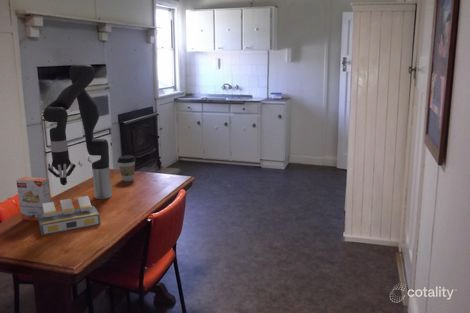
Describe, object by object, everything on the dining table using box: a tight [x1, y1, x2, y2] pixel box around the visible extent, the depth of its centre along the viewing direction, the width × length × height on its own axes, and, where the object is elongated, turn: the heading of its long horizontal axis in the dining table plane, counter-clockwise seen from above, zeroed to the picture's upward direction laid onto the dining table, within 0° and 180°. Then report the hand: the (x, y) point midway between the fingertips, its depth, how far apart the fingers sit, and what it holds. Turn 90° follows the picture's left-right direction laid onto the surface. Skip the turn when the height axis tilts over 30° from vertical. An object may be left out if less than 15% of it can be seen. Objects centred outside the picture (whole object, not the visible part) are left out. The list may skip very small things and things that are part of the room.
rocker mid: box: [59, 198, 75, 215], centre depth 217 cm, size 9×5×2 cm, turn 28°
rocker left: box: [42, 201, 57, 218], centre depth 213 cm, size 9×5×2 cm, turn 28°
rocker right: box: [77, 195, 93, 212], centre depth 220 cm, size 9×5×2 cm, turn 28°
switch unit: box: [38, 205, 101, 236], centre depth 216 cm, size 14×26×6 cm, turn 117°
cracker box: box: [16, 176, 52, 222], centre depth 223 cm, size 14×6×21 cm, turn 78°
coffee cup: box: [117, 154, 137, 182], centre depth 288 cm, size 11×11×15 cm
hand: (63, 184), depth 218 cm, fingers closed
